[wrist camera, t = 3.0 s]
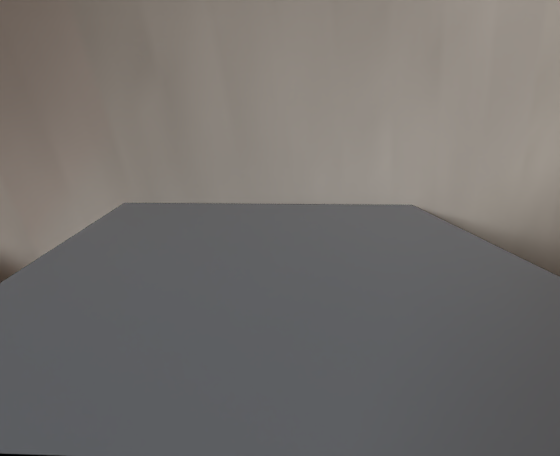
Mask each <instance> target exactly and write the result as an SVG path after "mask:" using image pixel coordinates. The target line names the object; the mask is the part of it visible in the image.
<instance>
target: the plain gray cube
mask: <svg viewBox="0 0 560 456" xmlns="http://www.w3.org/2000/svg"><path fill="white" fill-rule="evenodd" d="M0 456H560V277H559V276H557V275H555V274H553V273H551V272H549V271H547V270H545V269H543V268H541V267H539V266H536V265H534V264H532V263H530V262H528V261H526V260H524V259H522V258H520V257H518V256H516V255H514V254H512V253H510V252H508V251H506V250H504V249H502V248H500V247H497V246H495V245H493V244H491V243H489V242H487V241H485V240H483V239H481V238H479V237H477V236H475V235H473V234H471V233H469V232H467V231H465V230H463V229H461V228H458V227H456V226H454V225H452V224H450V223H448V222H446V221H444V220H442V219H440V218H438V217H436V216H434V215H432V214H430V213H428V212H426V211H424V210H422V209H419V208H417V207H415V206H413V205H343V204H199V203H123V204H122V205H120V206H119V207H117V208H116V209H114V210H112V211H111V212H109V213H108V214H106V215H105V216H103V217H102V218H100V219H98V220H97V221H95V222H94V223H92V224H91V225H89V226H88V227H86V228H85V229H83V230H81V231H80V232H78V233H77V234H75V235H74V236H72V237H71V238H69V239H68V240H66V241H64V242H63V243H61V244H60V245H58V246H57V247H55V248H54V249H52V250H50V251H49V252H47V253H46V254H44V255H43V256H41V257H40V258H38V259H37V260H35V261H33V262H32V263H30V264H29V265H27V266H26V267H24V268H23V269H21V270H19V271H18V272H16V273H15V274H13V275H12V276H10V277H9V278H7V279H6V280H4V281H2V282H1V283H0Z"/></svg>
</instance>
